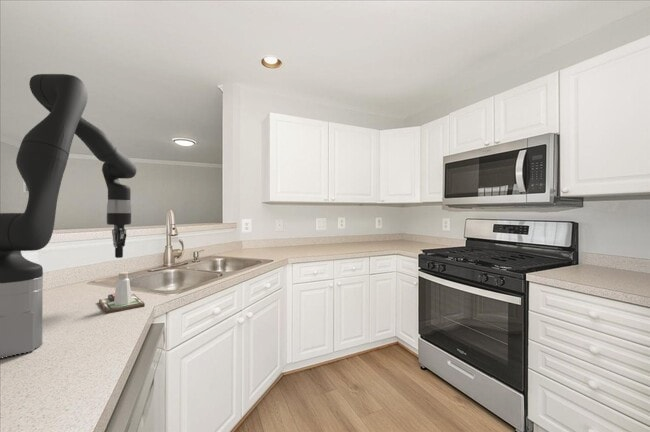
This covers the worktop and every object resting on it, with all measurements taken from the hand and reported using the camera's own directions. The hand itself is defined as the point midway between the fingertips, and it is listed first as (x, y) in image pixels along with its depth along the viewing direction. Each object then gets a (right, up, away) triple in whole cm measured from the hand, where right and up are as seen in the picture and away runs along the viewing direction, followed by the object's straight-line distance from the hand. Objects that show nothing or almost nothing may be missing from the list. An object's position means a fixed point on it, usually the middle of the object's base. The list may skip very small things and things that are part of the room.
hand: (118, 257), depth 106 cm
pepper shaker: (+6, -16, -6) cm, 18 cm away
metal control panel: (+4, -17, -3) cm, 17 cm away
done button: (0, -16, 0) cm, 16 cm away
